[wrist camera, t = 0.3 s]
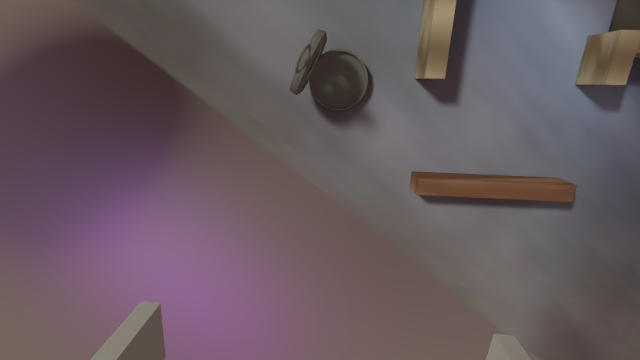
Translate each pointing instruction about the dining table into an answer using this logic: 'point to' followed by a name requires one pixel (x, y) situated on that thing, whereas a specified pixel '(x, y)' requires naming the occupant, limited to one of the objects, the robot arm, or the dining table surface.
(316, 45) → the pocket watch
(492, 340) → the robot arm
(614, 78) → the brown wooden pieces
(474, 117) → the dining table surface
